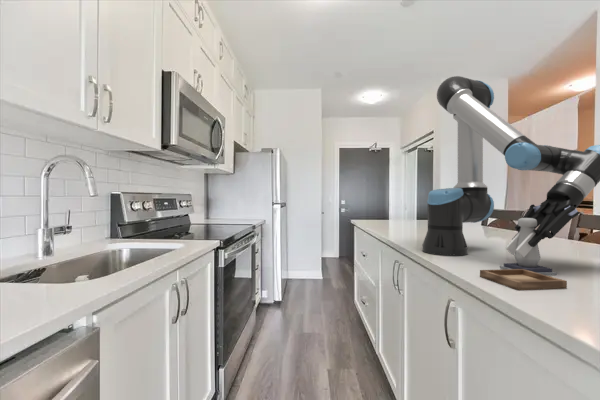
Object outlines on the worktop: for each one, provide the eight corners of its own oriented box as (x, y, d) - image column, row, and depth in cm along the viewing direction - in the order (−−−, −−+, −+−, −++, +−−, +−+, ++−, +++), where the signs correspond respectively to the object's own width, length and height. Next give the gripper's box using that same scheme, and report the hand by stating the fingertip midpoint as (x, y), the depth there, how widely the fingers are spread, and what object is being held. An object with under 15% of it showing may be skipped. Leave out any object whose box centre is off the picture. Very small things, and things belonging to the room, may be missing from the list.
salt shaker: (531, 263, 91) (532, 217, 91) (545, 268, 85) (546, 218, 85) (509, 263, 91) (510, 217, 91) (521, 267, 86) (522, 218, 86)
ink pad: (499, 268, 92) (499, 262, 92) (528, 267, 93) (528, 262, 93) (525, 275, 83) (525, 270, 83) (556, 274, 84) (557, 269, 84)
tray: (479, 276, 82) (480, 269, 82) (522, 275, 84) (522, 268, 84) (517, 290, 70) (517, 282, 70) (566, 288, 72) (566, 280, 72)
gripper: (608, 201, 82) (549, 268, 80) (551, 200, 98) (501, 256, 96) (590, 180, 81) (530, 247, 79) (536, 182, 97) (484, 238, 95)
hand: (514, 252), depth 88 cm, fingers closed on salt shaker, 3 cm apart
